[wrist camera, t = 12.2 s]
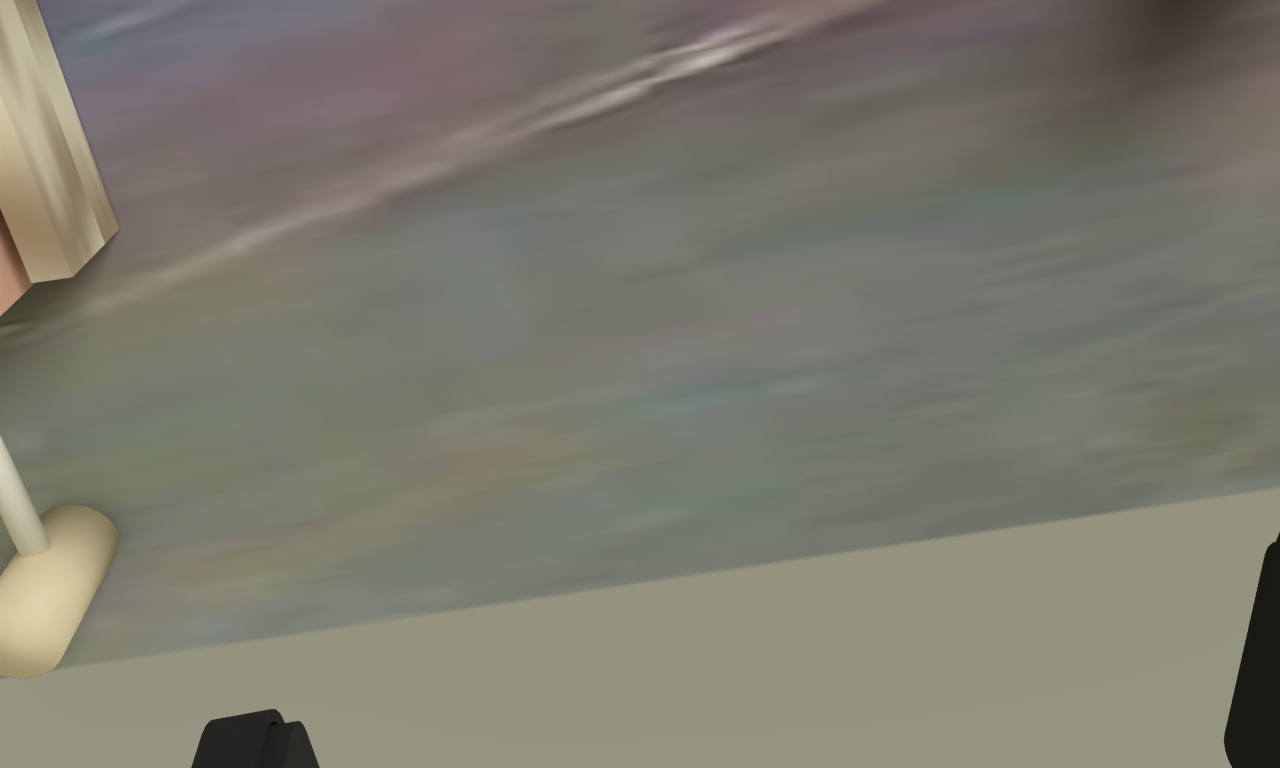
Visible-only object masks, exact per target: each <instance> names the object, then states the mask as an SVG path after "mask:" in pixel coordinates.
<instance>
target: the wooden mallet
mask: <svg viewBox="0 0 1280 768" xmlns="http://www.w3.org/2000/svg"><path fill="white" fill-rule="evenodd" d="M33 284H34V283H31V281H30V278H29V276H28V273H27V271H26V269H25V266H24V264H23V261H22V259H21V257H20V254H19V252H18V249H17V247H16V245H15V242H14V240H13V238H12V235H11V233H10V230H9V228H8V226H7V223H6V221H5V218H4V216H3V214H2V211H1V209H0V316H1V315H2V314H3V313H4V312H5V311H6V310H7V309H8V308H9V307H10V306H11V305H12V304H14V303H15V302H16V301H17V300H18V299H19V298H20V297H21V296H22V295H23V294H24V293H25V292H26V291H27V290H28V289H29V288H30V287H31V286H32V285H33ZM0 515H1V517H2V519H3V521H4V523H5V526H6V528H7V530H8V532H9V534H10V536H11V538H12V540H13V542H14V544H15V546H16V548H17V550H18V551H17V552H16V554H15V555H14V557H13V558H12V560H11V561H10V563H9V564H8V566H7V567H6V569H5V570H4V572H3V573H2V575H1V576H0V675H1V676H5V677H11V678H31V677H35V676H39V675H42V674H44V673H47V672H49V671H50V670H52V669H53V668H54V667H55V666H56V665H57V664H58V663H59V662H60V660H61V658H62V656H63V654H64V653H65V651H66V649H67V647H68V645H69V643H70V641H71V639H72V637H73V635H74V633H75V631H76V629H77V628H78V626H79V624H80V622H81V620H82V618H83V616H84V614H85V612H86V610H87V608H88V606H89V605H90V603H91V601H92V599H93V597H94V595H95V593H96V591H97V589H98V587H99V585H100V583H101V581H102V580H103V578H104V576H105V574H106V572H107V570H108V568H109V566H110V564H111V562H112V560H113V558H114V557H115V555H116V553H117V551H118V548H119V535H118V532H117V530H116V528H115V526H114V525H113V523H112V522H111V521H110V520H109V519H108V518H107V517H106V516H104V515H103V514H101V513H100V512H98V511H96V510H94V509H91V508H88V507H85V506H80V505H63V506H58V507H55V508H52V509H50V510H48V511H47V512H45V513H44V514H43V515H42V516H41V517H40V518H39V517H38V514H37V512H36V510H35V508H34V506H33V504H32V502H31V499H30V497H29V495H28V493H27V491H26V489H25V487H24V485H23V482H22V480H21V478H20V476H19V474H18V472H17V470H16V468H15V465H14V463H13V461H12V459H11V457H10V455H9V453H8V450H7V448H6V446H5V444H4V442H3V440H2V438H1V436H0Z"/></svg>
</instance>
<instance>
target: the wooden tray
mask: <svg viewBox="0 0 1280 768" xmlns="http://www.w3.org/2000/svg"><path fill="white" fill-rule="evenodd" d="M0 209H1V211H2V214H3V216H4V218H5V221H6V223H7V226H8V228H9V230H10V233H11V235H12V238H13V240H14V242H15V245H16V247H17V249H18V252H19V254H20V257H21V259H22V261H23V264H24V266H25V269H26V271H27V273H28V276H29V278H30V281H31V283H36V282H43V281H50V280H57V279H63V278H70V277H73V276H74V275H75V274H76V273H77V272H78V271H79V270H80V269H81V268H82V267H83V266H84V265H85V264H86V263H87V262H88V261H89V260H90V259H91V258H92V257H93V256H94V255H95V254H96V253H97V252H98V251H99V250H100V249H101V248H102V246H103V245H104V244H105V243H106V242H107V241H108V240H109V239H110V238H111V237H112V236H113V235H114V234H115V233H116V232H117V231H118V230H119V227H118V225H117V222H116V219H115V216H114V214H113V211H112V208H111V205H110V203H109V200H108V197H107V195H106V192H105V189H104V186H103V184H102V181H101V178H100V175H99V173H98V170H97V167H96V164H95V162H94V159H93V156H92V153H91V151H90V148H89V145H88V142H87V140H86V137H85V134H84V131H83V129H82V126H81V123H80V120H79V118H78V115H77V112H76V110H75V107H74V104H73V101H72V99H71V96H70V93H69V90H68V88H67V85H66V82H65V79H64V77H63V74H62V71H61V68H60V66H59V63H58V60H57V57H56V55H55V52H54V49H53V46H52V44H51V41H50V38H49V36H48V33H47V30H46V27H45V25H44V22H43V19H42V16H41V14H40V11H39V8H38V5H37V3H36V0H0Z"/></svg>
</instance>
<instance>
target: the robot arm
mask: <svg viewBox="0 0 1280 768" xmlns="http://www.w3.org/2000/svg"><path fill="white" fill-rule="evenodd" d="M1224 745H1225V751H1226V754H1227V756H1228V760H1229V762H1230V764H1231V766H1232V768H1280V533H1279V535H1278V538H1277V540H1276V542H1274V543H1272V544H1271V545H1270V546H1269V547H1268V548H1267V551H1266V553H1265V557H1264V561H1263V565H1262V570H1261V574H1260V579H1259V583H1258V588H1257V592H1256V597H1255V601H1254V605H1253V610H1252V615H1251V619H1250V623H1249V628H1248V632H1247V637H1246V641H1245V646H1244V650H1243V654H1242V659H1241V663H1240V668H1239V672H1238V677H1237V681H1236V686H1235V690H1234V695H1233V699H1232V704H1231V708H1230V713H1229V717H1228V721H1227V726H1226V730H1225V736H1224ZM192 768H319V765H318V762H317V759H316V757H315V754H314V751H313V748H312V746H311V743H310V740H309V737H308V735H307V732H306V730H305V727H304V726H303V724H302V723H301V722H300V721H296V722H290V723H285V722H284V720H283V718H282V716H281V714H280V713H279V712H278V711H277V710H276V709H269V710H264V711H259V712H253V713H248V714H242V715H237V716H231V717H226V718H220V719H215V720H211V721H210V722H209V723H208V724H207V725H206V727H205V729H204V731H203V733H202V736H201V739H200V742H199V745H198V748H197V752H196V755H195V758H194V761H193V764H192Z"/></svg>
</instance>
